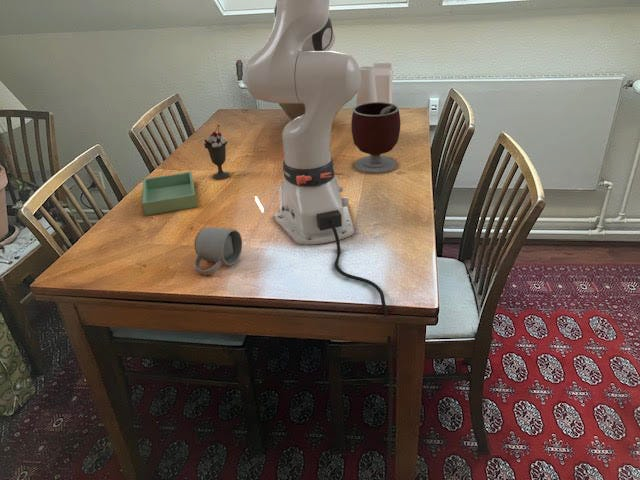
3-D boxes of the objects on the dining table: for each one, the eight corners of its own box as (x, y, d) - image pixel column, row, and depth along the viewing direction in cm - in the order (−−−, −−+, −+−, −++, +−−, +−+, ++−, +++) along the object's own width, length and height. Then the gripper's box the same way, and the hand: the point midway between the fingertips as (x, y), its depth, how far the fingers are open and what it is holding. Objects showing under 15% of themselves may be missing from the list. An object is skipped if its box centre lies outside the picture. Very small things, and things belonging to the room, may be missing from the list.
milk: (375, 124, 189) (375, 61, 178) (392, 125, 187) (392, 61, 176) (371, 130, 184) (371, 65, 173) (389, 130, 182) (389, 65, 171)
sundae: (234, 171, 158) (227, 122, 151) (229, 180, 153) (221, 130, 145) (213, 171, 159) (205, 123, 152) (207, 180, 153) (198, 131, 146)
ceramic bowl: (348, 115, 200) (347, 88, 195) (315, 133, 184) (314, 105, 178) (300, 108, 211) (298, 83, 206) (265, 125, 194) (262, 98, 189)
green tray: (197, 206, 139) (195, 194, 137) (145, 215, 136) (142, 203, 134) (193, 182, 153) (191, 171, 151) (145, 190, 150) (143, 178, 148)
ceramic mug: (214, 247, 120) (208, 218, 116) (245, 253, 117) (240, 223, 113) (186, 273, 112) (179, 242, 108) (219, 280, 109) (213, 249, 105)
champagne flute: (380, 143, 172) (381, 68, 160) (362, 147, 170) (361, 71, 158) (371, 137, 177) (371, 64, 165) (353, 141, 175) (351, 67, 163)
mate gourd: (343, 163, 159) (341, 97, 149) (382, 153, 165) (383, 88, 154) (371, 180, 147) (371, 110, 137) (412, 169, 152) (414, 100, 142)
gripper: (268, 47, 164) (238, 73, 160) (316, 62, 154) (286, 91, 149) (274, 64, 169) (245, 90, 165) (321, 80, 158) (292, 108, 154)
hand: (265, 91), depth 157 cm, fingers open, 8 cm apart
